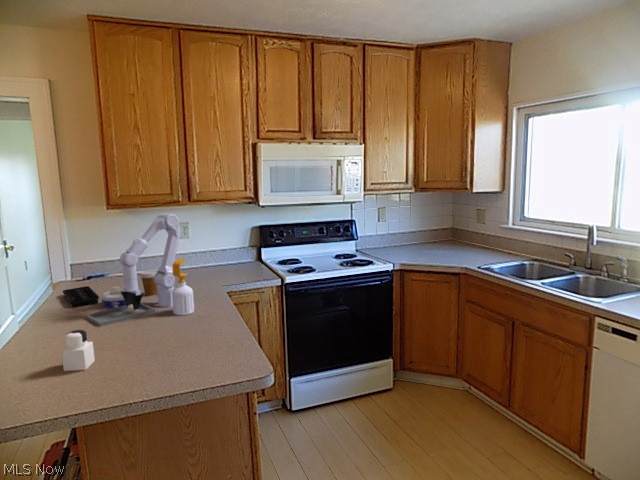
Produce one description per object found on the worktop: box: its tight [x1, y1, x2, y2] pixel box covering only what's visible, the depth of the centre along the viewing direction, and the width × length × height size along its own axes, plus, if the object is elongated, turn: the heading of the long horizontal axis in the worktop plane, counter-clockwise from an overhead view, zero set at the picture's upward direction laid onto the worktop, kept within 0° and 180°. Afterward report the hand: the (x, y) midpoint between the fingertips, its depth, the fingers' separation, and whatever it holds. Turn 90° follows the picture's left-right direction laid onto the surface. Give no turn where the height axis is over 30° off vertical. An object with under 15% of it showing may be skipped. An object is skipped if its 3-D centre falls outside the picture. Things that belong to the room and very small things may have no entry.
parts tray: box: [85, 302, 156, 327], centre depth 197 cm, size 24×16×2 cm, turn 136°
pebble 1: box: [108, 285, 120, 295], centre depth 213 cm, size 4×4×3 cm
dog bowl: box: [100, 288, 126, 309], centre depth 215 cm, size 15×15×6 cm
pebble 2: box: [128, 304, 139, 314], centre depth 201 cm, size 4×4×3 cm
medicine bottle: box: [61, 329, 96, 372], centre depth 146 cm, size 7×7×12 cm
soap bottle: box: [172, 258, 195, 316], centre depth 199 cm, size 9×9×25 cm
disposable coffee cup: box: [140, 269, 158, 297], centre depth 230 cm, size 10×10×12 cm
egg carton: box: [62, 285, 100, 309], centre depth 225 cm, size 18×30×4 cm, turn 49°
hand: (132, 307), depth 201 cm, fingers open, 7 cm apart
